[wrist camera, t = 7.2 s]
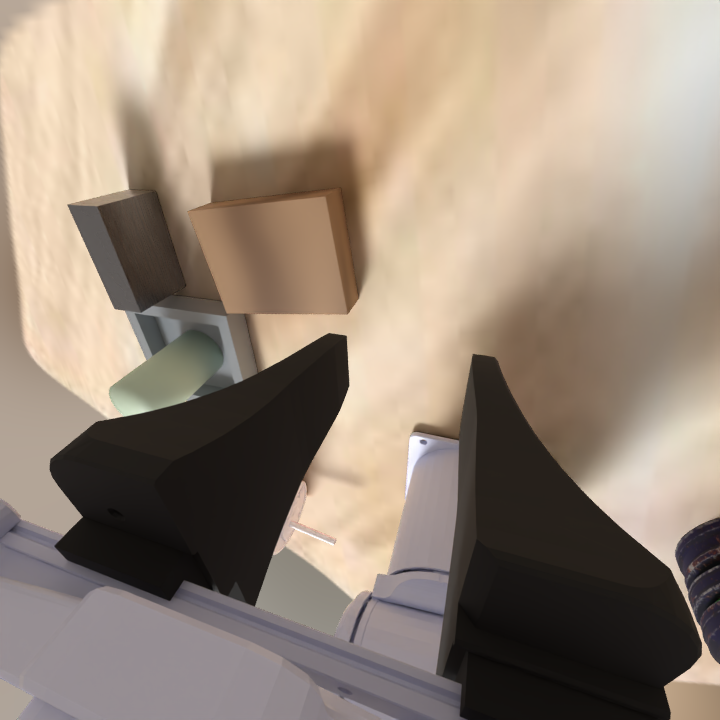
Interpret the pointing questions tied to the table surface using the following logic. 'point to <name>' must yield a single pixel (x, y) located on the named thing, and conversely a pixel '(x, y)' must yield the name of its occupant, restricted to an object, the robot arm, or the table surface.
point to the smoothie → (293, 523)
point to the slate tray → (206, 317)
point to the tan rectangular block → (279, 253)
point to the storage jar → (703, 579)
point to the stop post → (130, 247)
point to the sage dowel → (168, 375)
